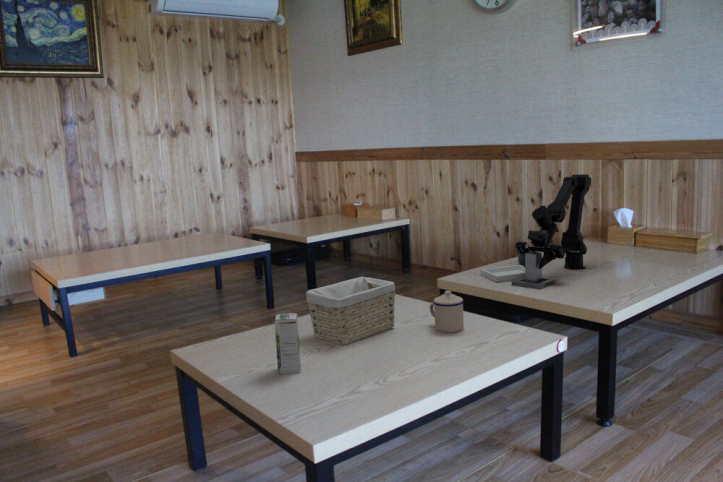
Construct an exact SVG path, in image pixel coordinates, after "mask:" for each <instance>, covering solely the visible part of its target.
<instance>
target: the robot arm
mask: <svg viewBox="0 0 723 482" xmlns="http://www.w3.org/2000/svg"><path fill="white" fill-rule="evenodd" d="M591 185H592V177H590V176H589V174H586V173H584V174H583V173H582V174H581V173H580V174H572V175H570V176H565V177H564V178H563V180H562V184H561V186H560V188H559V191H558V192H557V194H556V196H555V198H554V200H553V202H551V203H549V204H548V205H547V206H546V205H539V207H537V208H535V209H534V210H533V211H532V213H531V217H532V219H533V220H534V222H535V223H536V226H538V227H539V228H540V229H539V230H528V234H527V238H526V239H527V240H530V244H531V245H529V244H528V243H527V241H517V242H515V245H514V248H515V250H516V249H517V251H518V252H519V254H521V255H524V268H525V254H526V253H529V252H531V251H535V252H539V253H542V259H541V261H540V264H539V267H538V268H539V269H541V268H542V269H543V267H546V265H547V264H549V263H551V262H552V261H554V260H556V259H564V265H563V268H567V269H570V270H578V269H585V268H586V266H585V265H584V255H587V252H588V247H587V245H586V244H585V242H584V236H583V233H582V231H581V227H582V218H583V210H584V209H583V208H584V202H585V196H586V195H587V194H588V192H589V191H590V187H591ZM570 198H571V202H570V209H569V219H568V224H567V225H568V226H567V229H566V231H563V232H562V235H561V236H562V237H561V240H560V244H557V243H556V244H554V241H553V239H554V237H555V234H556V233H559V228H558V224H557V223H560V224H561V223H563V222H564V220H565V219H566V215H567V211H566V206H567V205H568V203H569V200H570ZM517 251H516V252H517Z"/></svg>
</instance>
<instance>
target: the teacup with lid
mask: <svg viewBox="0 0 723 482" xmlns="http://www.w3.org/2000/svg"><path fill="white" fill-rule="evenodd" d="M464 303H465V302H464V299H463V298H462V297H461V296H457V295H456V294H453V293H452V290H446V291H444V294H441V295H440V296H437V297H435V298H434V299H433V302H431V303H430V305H429V312H430V314H431V316H432V317H433V318H434V328H435V331H438V332H440V333H447V334H448V333H451V334H452V333H457V332H460V331H462V330H464V328H465V327H464V323H465V322H464Z"/></svg>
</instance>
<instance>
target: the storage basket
mask: <svg viewBox="0 0 723 482" xmlns="http://www.w3.org/2000/svg"><path fill="white" fill-rule="evenodd" d="M370 287H372V288H370ZM305 297H306V303H307V305H308V309H309V315H310V318H311V321H310V322H311V324H312V330H313V335H314V337H315V338H318V339H321V340H325V341H326V342H330V343H332V344H336V345H340V346H341V345H342V346H345V345H349V344H352V343H353V342H358V341H360V340H363V339H365V338H367V337H370V336H373V335H376V334H378V333H380V332H381V333H382V332H383V331H387V330H388V329H392V328H394V327H395V308H396V307H395V300H396V298H395V297H396V285H395V282H394V281H390V280H384V279H379V278H373V277H367V276H359V277H355V278H351V279H347V280H343V281H339V282H335V283H333V284H328V285H325V286H321V287H317V288H312V289H308V290H307V291H306V292H305Z"/></svg>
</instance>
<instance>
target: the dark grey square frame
mask: <svg viewBox="0 0 723 482" xmlns="http://www.w3.org/2000/svg"><path fill="white" fill-rule="evenodd" d="M556 283H557V279H556V278H553V277H545V276H544V277H543V276H542V282H541V283H530V282H525V277H522V278H519V279H517V280H514V281H511V286H512V287H513V286H514V287H521V288H528V287H529V288H530V289H536V290H542V289H544V288H546V287H549V286H551V285H554V284H556Z"/></svg>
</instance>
